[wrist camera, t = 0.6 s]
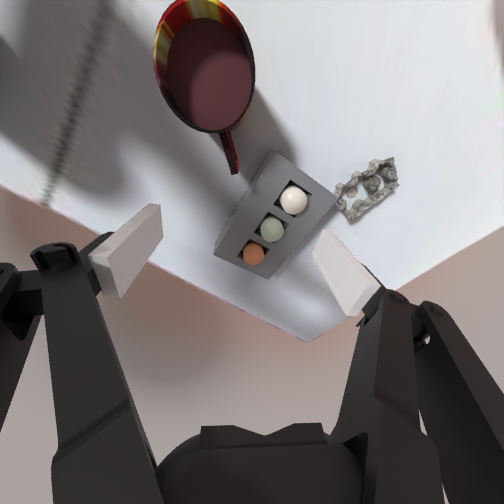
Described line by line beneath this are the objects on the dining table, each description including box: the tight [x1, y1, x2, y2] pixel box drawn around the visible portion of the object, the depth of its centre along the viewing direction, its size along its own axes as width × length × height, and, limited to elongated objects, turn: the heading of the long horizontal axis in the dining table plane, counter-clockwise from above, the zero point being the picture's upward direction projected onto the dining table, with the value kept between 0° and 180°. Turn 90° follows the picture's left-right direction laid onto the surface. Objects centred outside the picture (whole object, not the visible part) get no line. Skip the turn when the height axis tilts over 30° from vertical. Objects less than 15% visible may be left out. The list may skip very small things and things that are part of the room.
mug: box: [153, 0, 255, 175], centre depth 24 cm, size 10×14×12 cm
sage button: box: [260, 215, 284, 242], centre depth 35 cm, size 4×4×3 cm
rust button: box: [243, 240, 264, 265], centre depth 38 cm, size 4×4×3 cm
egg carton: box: [333, 157, 399, 220], centre depth 35 cm, size 11×8×4 cm
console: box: [213, 149, 339, 279], centre depth 37 cm, size 14×22×5 cm, turn 148°
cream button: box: [279, 185, 307, 214], centre depth 32 cm, size 4×4×3 cm
